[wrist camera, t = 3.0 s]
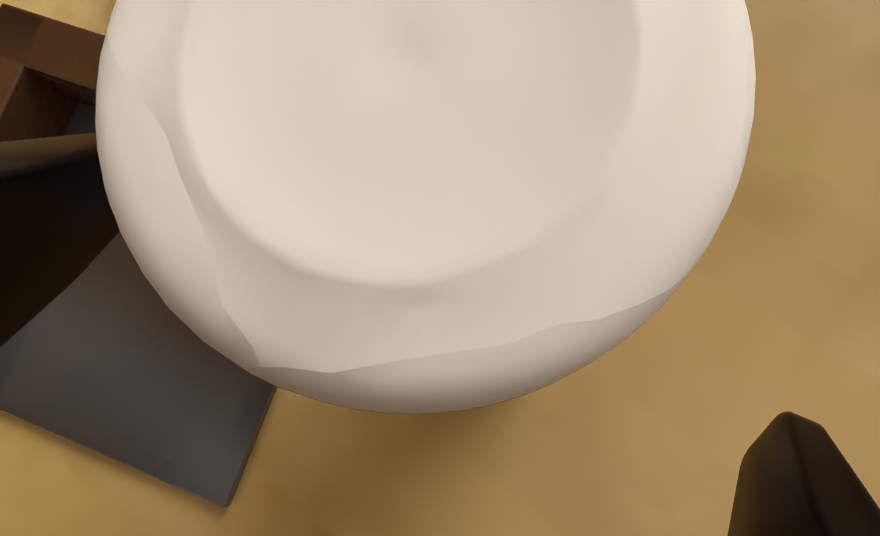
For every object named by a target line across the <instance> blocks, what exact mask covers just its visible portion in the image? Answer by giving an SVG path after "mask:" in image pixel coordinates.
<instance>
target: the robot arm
mask: <svg viewBox="0 0 880 536" xmlns="http://www.w3.org/2000/svg"><path fill="white" fill-rule="evenodd" d="M119 232H120V230H119V227H118V224H117V221H116V218H115V216H114V213H113V211H112V209H111V207H110V204H109V201H108V197H107V194H106V191H105V187H104V182H103V177H102V171H101V166H100V161H99V156H98V151H97V139H96V133H88V134H78V135H67V136H57V137H47V138H37V139H27V140H16V141H6V142H0V348H1V347H2V346H3V345H4V344H5V343H6V342H7V341H8V340H10V339H11V338H12V337H13V336H14V335H15V334H16V333H17V332H18V331H20V330H21V329H22V328H23V327H24V326H25V325H26V324H27V323H28V322H30V321H31V320H32V319H33V318H34V317H35V316H36V315H37V314H39V313H40V312H41V311H42V310H43V309H44V308H45V307H46V306H47V305H49V304H50V303H51V302H52V301H53V300H54V299H55V298H56V297H58V296H59V295H60V294H61V293H62V292H63V291H64V290H65V289H66V288H67V287H68V286H69V285H70V284H72V283H73V282H74V281H75V280H76V279H77V278H78V277H79V276H80V274H81V273H82V272H83V271H84V270H85V269H86V268H87V267H88V266H89V265H90V264H91V263H92V262H93V261H94V259H95V258H96V257H97V256H98V255H99V254H100V253H101V252H102V251H103V250H104V248H105V247H106V246H107V245H108V244H109V243H110V242H111V241H112V240H113V238H114V237H115V236H116V235H117V234H118V233H119ZM728 536H880V509H879V507H878V506H877V504H876V503H875V501H874V500H873V498H872V497H871V496H870V494H869V493H868V491H867V490H866V488H865V487H864V485H863V484H862V483H861V481H860V480H859V478H858V477H857V475H856V474H855V472H854V471H853V469H852V468H851V467H850V465H849V464H848V462H847V461H846V459H845V458H844V456H843V455H842V454H841V452H840V451H839V449H838V448H837V446H836V445H835V443H834V442H833V441H832V439H831V438H830V436H829V435H828V433H827V432H826V430H825V429H824V428H823V427H822V426H821V425H820V424H818V423H816V422H814V421H812V420H809V419H807V418H804V417H802V416H800V415H797V414H795V413H792V412H782V413H780V414H779V415H778V416H776V417H775V418H774V420H773V421H772V422H771V423H770V424H769V425H768V427H767V428H766V429H765V430H764V431H763V432H762V434H761V435H760V436H759V437H758V438H757V439H756V441H755V442H754V443H753V444H752V445H751V446H750V447H749V449H748V450H747V452H746V453H745V455H744V457H743V460H742V462H741V466H740V470H739V476H738V481H737V487H736V492H735V498H734V503H733V509H732V514H731V520H730V525H729V531H728Z"/></svg>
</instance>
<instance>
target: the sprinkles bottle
mask: <svg viewBox="0 0 880 536" xmlns="http://www.w3.org/2000/svg"><path fill="white" fill-rule="evenodd" d="M755 81H756V73H755V60H754V48H753V37H752V32H751V26H750V21H749V16H748V12H747V8H746V4H745V0H116V2H115V5H114V7H113V10H112V14H111V17H110V21H109V25H108V28H107V32H106V36H105V39H104V43H103V47H102V51H101V54H100V62H99V70H98V78H97V87H96V116H95V126H96V139H97V151H98V156H99V161H100V166H101V171H102V177H103V182H104V187H105V191H106V194H107V197H108V201H109V204H110V207H111V209H112V211H113V213H114V216H115V218H116V221H117V224H118V227H119V230H120V233H121V235H122V237H123V238H124V240H125V242H126V244H127V246H128V247H129V249H130V251H131V253H132V255H133V256H134V258H135V260H136V262H137V264H138V266H139V267H140V269H141V271H142V273H143V274H144V276H145V277H146V278H147V280H148V281H149V282H150V284H151V285H152V286H153V288H154V289H155V291H156V292H157V293H158V295H159V296H160V297H161V299H162V300H163V301H164V303H165V304H166V305H167V307H168V308H169V309H170V310H171V311H172V312H173V313H174V314H175V315H176V316H177V317H178V318H179V319H180V320H181V321H182V322H184V323H185V324H186V325H187V326H188V327H189V328H190V329H191V330H192V331H193V332H194V333H195V334H196V335H197V336H198V337H199V338H200V339H201V340H202V341H203V342H205V343H206V344H208V345H209V346H211V347H212V348H214V349H215V350H217V351H218V352H219V353H221V354H222V355H224V356H225V357H227V358H228V359H230V360H231V361H233V362H234V363H236V364H237V365H239V366H240V367H242V368H243V369H245V370H246V371H247V372H249V373H250V374H252V375H254V376H256V377H258V378H260V379H262V380H264V381H266V382H268V383H270V384H273V385H275V386H277V387H280V388H283V389H286V390H289V391H292V392H295V393H297V394H300V395H303V396H306V397H309V398H312V399H315V400H318V401H321V402H325V403H330V404H334V405H339V406H343V407H348V408H352V409H359V410H366V411H373V412H381V413H407V414H424V413H436V412H448V411H458V410H464V409H470V408H476V407H482V406H488V405H492V404H496V403H499V402H502V401H506V400H509V399H512V398H516V397H519V396H522V395H526V394H528V393H531V392H533V391H536V390H538V389H541V388H543V387H546V386H548V385H551V384H553V383H555V382H556V381H558V380H560V379H562V378H564V377H566V376H568V375H569V374H571V373H573V372H575V371H577V370H579V369H581V368H582V367H584V366H586V365H588V364H590V363H592V362H593V361H595V360H596V359H598V358H599V357H601V356H602V355H604V354H605V353H607V352H608V351H609V350H611V349H612V348H614V347H615V346H617V345H618V344H620V343H621V342H623V341H624V340H626V339H627V338H628V337H629V336H630V335H631V334H632V333H633V332H635V331H636V330H637V329H638V328H639V327H640V326H641V325H642V324H644V323H645V322H646V321H647V320H648V319H649V318H650V317H651V316H653V315H654V314H655V313H656V312H657V311H658V310H659V309H660V308H661V307H662V306H663V305H664V303H665V302H666V301H667V300H668V299H669V297H670V296H671V295H672V294H673V293H674V292H675V290H676V289H677V288H678V287H679V286H680V285H681V283H682V282H683V281H684V280H685V279H686V278H687V276H688V275H689V274H690V273H691V272H692V270H693V269H694V267H695V266H696V264H697V262H698V261H699V259H700V258H701V256H702V255H703V253H704V252H705V250H706V249H707V247H708V245H709V244H710V242H711V240H712V238H713V236H714V235H715V233H716V231H717V229H718V227H719V225H720V224H721V222H722V220H723V218H724V216H725V214H726V212H727V211H728V208H729V206H730V203H731V201H732V198H733V196H734V193H735V191H736V188H737V186H738V183H739V180H740V177H741V173H742V169H743V166H744V162H745V158H746V153H747V148H748V143H749V138H750V133H751V128H752V123H753V119H754V100H755Z"/></svg>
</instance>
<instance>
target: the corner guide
mask: <svg viewBox="0 0 880 536" xmlns="http://www.w3.org/2000/svg"><path fill="white" fill-rule="evenodd" d="M104 39H105V36H104V35H101V34H98V33H95V32H92V31H88V30H85V29H82V28H79V27H76V26H73V25H70V24H67V23H63V22H60V21H57V20H54V19H51V18H48V17H45V16H42V15H38V14H35V13H32V12H29V11H26V10H23V9H20V8H17V7H13V6H10V5H7V4H2V5H1V7H0V142H6V141H16V140H27V139H37V138H47V137H57V136H67V135H78V134H88V133H96V126H95V116H96V87H97V78H98V70H99V62H100V54H101V51H102V47H103V43H104ZM276 387H277V386H275V385H273V384H270V383H268V382H266V381H264V380H262V379H260V378H258V377H256V376H254V375H252V374H250V373H249V372H247V371H246V370H245V369H243V368H242V367H240V366H239V365H237V364H236V363H234V362H233V361H231V360H230V359H228V358H227V357H225V356H224V355H222V354H221V353H219V352H218V351H217V350H215V349H214V348H212V347H211V346H209V345H208V344H206V343H205V342H203V341H202V340H201V339H200V338H199V337H198V336H197V335H196V334H195V333H194V332H193V331H192V330H191V329H190V328H189V327H188V326H187V325H186V324H185V323H184V322H182V321H181V320H180V319H179V318H178V317H177V316H176V315H175V314H174V313H173V312H172V311H171V310H170V309H169V308H168V307H167V305H166V304H165V303H164V301H163V300H162V299H161V297H160V296H159V295H158V293H157V292H156V291H155V289H154V288H153V286H152V285H151V284H150V282H149V281H148V280H147V278H146V277H145V276H144V274H143V273H142V271H141V269H140V267H139V266H138V264H137V262H136V260H135V258H134V256H133V255H132V253H131V251H130V249H129V247H128V246H127V244H126V242H125V240H124V238H123V237H122V235H121V233H120V232H119V233H118V234H117V235H116V236H115V237H114V238H113V240H112V241H111V242H110V243H109V244H108V245H107V246H106V247H105V248H104V250H103V251H102V252H101V253H100V254H99V255H98V256H97V257H96V258H95V259H94V261H93V262H92V263H91V264H90V265H89V266H88V267H87V268H86V269H85V270H84V271H83V272H82V273H81V274H80V276H79V277H78V278H77V279H76V280H75V281H74V282H73V283H72V284H70V285H69V286H68V287H67V288H66V289H65V290H64V291H63V292H62V293H61V294H60V295H59V296H58V297H56V298H55V299H54V300H53V301H52V302H51V303H50V304H49V305H47V306H46V307H45V308H44V309H43V310H42V311H41V312H40V313H39V314H37V315H36V316H35V317H34V318H33V319H32V320H31V321H30V322H28V323H27V324H26V325H25V326H24V327H23V328H22V329H21V330H20V331H18V332H17V333H16V334H15V335H14V336H13V337H12V338H11V339H10V340H8V341H7V342H6V343H5V344H4V345H3V346H2V347H1V348H0V409H2V410H4V411H6V412H8V413H11V414H13V415H15V416H17V417H20V418H22V419H24V420H26V421H29V422H31V423H33V424H36V425H38V426H40V427H42V428H45V429H47V430H49V431H51V432H54V433H56V434H58V435H60V436H63V437H65V438H67V439H69V440H72V441H74V442H76V443H78V444H81V445H83V446H85V447H88V448H90V449H92V450H94V451H97V452H99V453H101V454H103V455H106V456H108V457H110V458H112V459H115V460H117V461H119V462H121V463H124V464H126V465H128V466H131V467H133V468H135V469H137V470H140V471H142V472H144V473H146V474H149V475H151V476H153V477H155V478H158V479H160V480H162V481H164V482H167V483H169V484H171V485H173V486H176V487H178V488H180V489H183V490H185V491H187V492H189V493H192V494H194V495H196V496H198V497H201V498H203V499H205V500H207V501H210V502H212V503H214V504H216V505H219V506H221V507H223V508H225V507H227V506H229V505H230V502H231V500H232V497H233V495H234V492H235V490H236V487H237V485H238V482H239V480H240V477H241V475H242V472H243V469H244V467H245V464H246V462H247V459H248V457H249V454H250V452H251V449H252V447H253V444H254V442H255V439H256V437H257V434H258V432H259V429H260V427H261V424H262V422H263V419H264V417H265V414H266V412H267V409H268V407H269V404H270V402H271V399H272V397H273V394H274V392H275V389H276Z"/></svg>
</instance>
